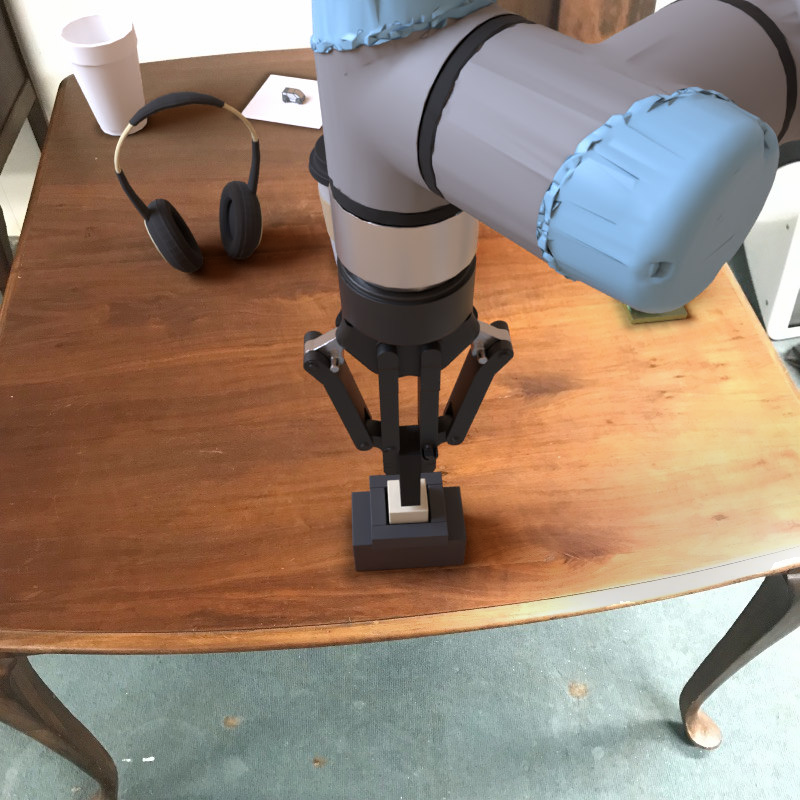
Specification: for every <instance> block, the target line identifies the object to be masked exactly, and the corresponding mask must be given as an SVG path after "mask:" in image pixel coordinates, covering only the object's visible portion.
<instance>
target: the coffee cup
mask: <svg viewBox="0 0 800 800" xmlns="http://www.w3.org/2000/svg"><path fill="white" fill-rule="evenodd" d="M308 171H309V174H310V175H311V177H312V178H313V179H314V180H315V181H317V184H318V185H317V191H318V196H319V201H320V204H321V209H322V213H323V218H324V222H325V227H326V231H327V233H328V236H329V240H330V243H331V247H332V251H333V256H334V260H335V264H336V265H337V254H336V248H335V241H334V232H333V223H332V214H331V205H330V195H329V183H330V182H329V175H328V169H327V160H326V151H325V142H324V134H323V133H322V134H321V135H320V136H319V137H318V138H317V139H316V141H315V144H314V147H313V148H312V149H311V151H310V153H309V158H308Z"/></svg>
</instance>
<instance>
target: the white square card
mask: <svg viewBox="0 0 800 800" xmlns="http://www.w3.org/2000/svg"><path fill="white" fill-rule="evenodd" d="M240 113H241V114H242V115H243V116H244V117H245V118H246V119H253V120H259V121H264V122H265V121H266V122H272V123H279V124H285V125H293V126H298V127H304V128H312V129H318V130H319V129H321V127H323V126H322V117H321V109H320V101H319V92H318V84H317V80H315V79H307V78H299V77H292V76H286V75H280V74H279V75H278V74H270V75H269V76H268V77H267V79H266V80H265V82H264V83H263V84H262V86H261V87H260V88H259V90H258V91H257V92H256V93H255V94H254V96H253V98H252V99H250V101H249V102H248V103H247V105H246V106H245V108H244V109H243V110H242V112H240Z"/></svg>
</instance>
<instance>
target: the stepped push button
mask: <svg viewBox="0 0 800 800" xmlns="http://www.w3.org/2000/svg"><path fill="white" fill-rule="evenodd" d="M442 474H443V473H442V471H434V472H429V473H421V479H425V481H426V492H427V502H428V522H420V523H402V524H390V521H389V503H388V483H387V482H388V481H390V480H399V475H386V474H375V475H373V474H372V475H368V483H369V485H368V486H369V490H366V491H363V490H362V491H351V497H350V499H351V538H352V539H351V540H352V542H351V543H352V553H353V560H354V561H353V563H354V571H356V572H362V571H364V572H365V571H378V570H379V571H380V570H398V569H399V570H400V569H415V568H431V567H432V568H433V567H447V566H463V565H464V564H465V556H466V547H467V532H466V531H467V530H466V524H465V517H464V516H465V515H464V508H463V500H462V493H461V486H460V485H455V486H444V484H443V475H442Z"/></svg>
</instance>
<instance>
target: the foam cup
mask: <svg viewBox="0 0 800 800" xmlns="http://www.w3.org/2000/svg"><path fill="white" fill-rule="evenodd" d="M55 39H56V41H57V43H58V46H59V50H60V52H61V54H62V56H63V57H64V59H65V60H66V62H67V64H68V65H69V67H70V69H71V71H72V73H73V75H74V77H75V80H76V81H77V84H78V85H79V87H80V89H81V91H82V94H83V95H84V97H85V100H86V101H87V103H88V106H89V107H90V109H91V111H92V114H93V115H94V117H95V119H96V121H97V123H98V125H99V126H100V129H101V130H102V131H103V133H105V134H108V135H110V136H120V137H121V135H122V133H123V131H124V130H125V129H126V127H127V126H128V124H129V121H130V119H131V118H132V117H133V116H134V115H135V114H136V112H137V111H138V110H139V109H141V108H142V107H143V106H145V105H146V101H145V93H144V87H143V80H142V71H141V67H140V66H141V65H140V59H139V53H138V37H137V34H136V30H135V25H134V23H133V21H132V20H131V19H130V18H129V17H128V16H126V15H124V14H120V13H117V12H107V11H106V12H105V11H104V12H103V11H102V12H101V11H100V12H99V11H97V12H92V13H86V14H81V15H78V16H76V17H73V18H71V19H68V20H66V21H65V22H64V23H63V24H61V25H60V26H59V27H58V28H57V30H56V35H55ZM147 123H148V118H146V119H145V120H143V121H142V122H140V123H139V124H138V125H137V126H134V127H133V128H132V130H131V131H130V132H129V134H128V135H132V134H135V133H137V132H139V131H140V130H142V129H143V128H144V127H146V125H147Z"/></svg>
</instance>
